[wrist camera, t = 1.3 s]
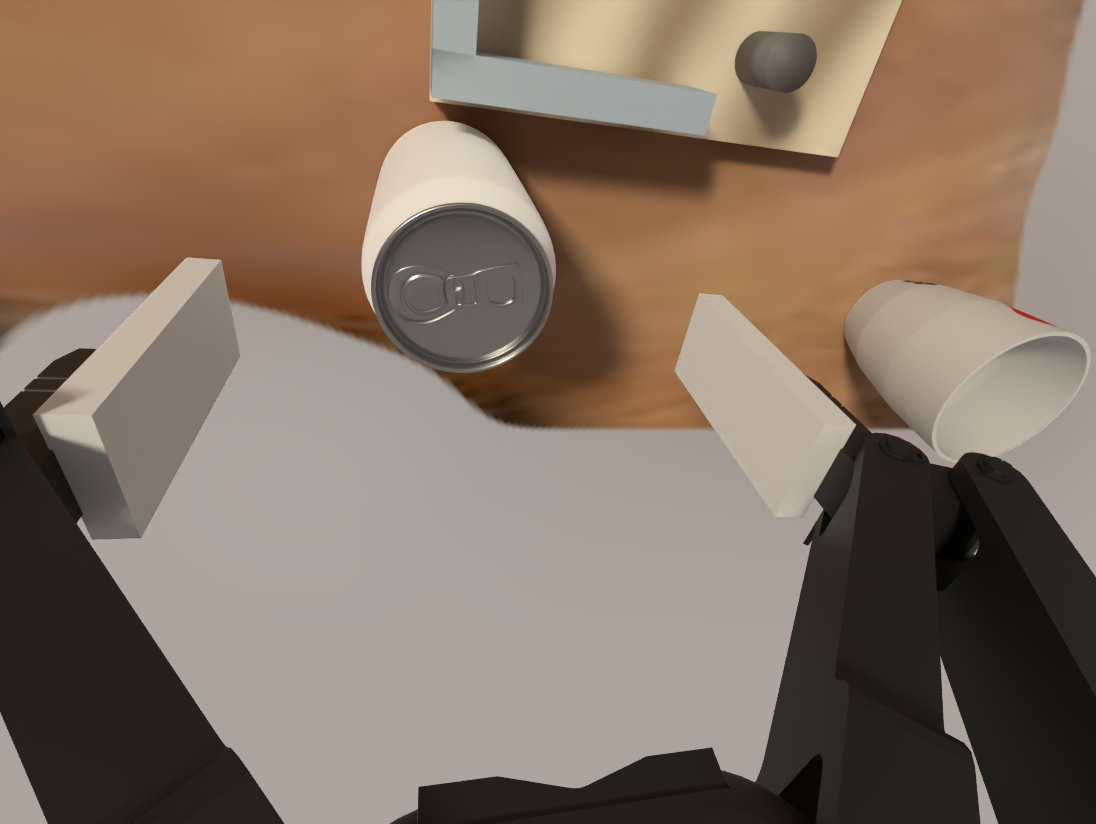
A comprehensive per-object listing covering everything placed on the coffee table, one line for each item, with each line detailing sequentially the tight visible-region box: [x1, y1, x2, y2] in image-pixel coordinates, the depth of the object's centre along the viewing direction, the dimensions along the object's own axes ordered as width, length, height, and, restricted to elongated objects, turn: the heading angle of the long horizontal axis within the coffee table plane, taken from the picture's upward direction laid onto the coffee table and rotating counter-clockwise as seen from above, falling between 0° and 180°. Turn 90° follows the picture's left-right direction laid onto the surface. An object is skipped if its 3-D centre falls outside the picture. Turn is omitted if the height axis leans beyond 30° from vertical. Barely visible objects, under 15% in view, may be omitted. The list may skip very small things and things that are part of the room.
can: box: [362, 121, 556, 373], centre depth 22 cm, size 6×6×12 cm
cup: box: [844, 280, 1091, 463], centre depth 32 cm, size 8×8×10 cm
